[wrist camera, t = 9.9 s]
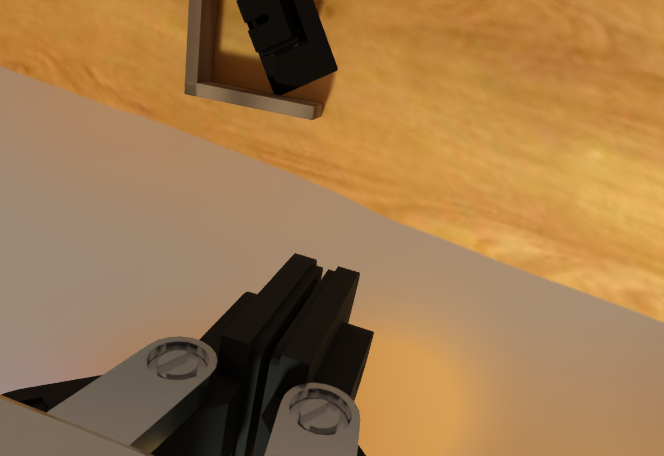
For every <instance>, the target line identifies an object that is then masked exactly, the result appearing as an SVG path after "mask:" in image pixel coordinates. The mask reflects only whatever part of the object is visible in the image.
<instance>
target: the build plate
mask: <svg viewBox="0 0 664 456" xmlns="http://www.w3.org/2000/svg"><path fill="white" fill-rule="evenodd" d="M236 2H237V4H238V7H239V10H240V12H241V15H242V17H243V20H244V22H245V23H247V24H248V27H249V31H248V33H249V35H250V38H251V40H252V43H253V46H254V48H255V51H256V52H258V53H259V56H260V59H261V61H262V64H263V67H264V69H265V72H266V74H267V77H268V80H269V82H270V85H271V88H272V90H273V93H274V94H277V95H283V94H285V93H287V92H290V91H292V90H294V89H297V88H299V87H301V86H303V85H306V84H308V83H310V82H312V81H315V80H317V79H319V78H322V77H324V76H326V75H328V74H331V73H333V72H335V71H337V69H338V68H337V65H336V62H335V59H334V57H333V54H332V51H331V48H330V45H329V43H328V40H327V37H326V34H325V32H324V29H323V26H322V23H321V21H320V18H319V15H318V12H317V10H316V7H315V4H314V1H313V0H237V1H236Z"/></svg>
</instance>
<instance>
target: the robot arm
mask: <svg viewBox="0 0 664 456" xmlns="http://www.w3.org/2000/svg"><path fill="white" fill-rule="evenodd" d="M316 265H317V261H316V259H312V258H309V257H306V256H303V255H299V254H296V253H295V254H294V255H293V256H292V257H291V258H290V259H289V260H288V261H287V262H286V263H285V265H284V266H283V267H282V268H281V269H280V270H279V271H278V272H277V273H276V275H275V276H274V277H273V278H272V279H271V280H270V281H269V282H268V283H267V285H266V286H265V287H264V288H263V289H262V290H261V291H260V292H259V293H258V294H254V293H251V292H246V293H244V294H243V295H242V296H241V297H240V298H239V299H238V300H237V301H236V303H234V304H233V305H232V306H231V308H230V309H229V310H228V311H227V312H226V313H225V314H224V315H223V316H222V317H221V318H220V319H219V320H218V321H217V322H216V323H215V324H214V325H213V326H212V327H211V328H210V329H209V330H208V332H206V333H205V334H204V336H203V337H202V338H201V339H200V340H197V339H193V338H188V337H168V338H164V339H160V340H157V341H155V342H153V343H151V344H149V345H147V346H146V347H144V348H143V349H141V350H140V351H138V352H137V353H135V354H134V355H132V356H131V357H129V358H128V359H126V360H125V361H123V362H122V363H120V364H119V365H117V366H116V367H114V368H113V369H111V370H110V371H108V372H107V373H105V374H104V375H100V376H94V377H88V378H82V379H76V380H71V381H65V382H59V383H53V384H47V385H41V386H36V387H29V388H24V389H19V390H15V391H11V392H7V393H4V394H2V395H0V456H366V455H365V454H364V452H363V451H362V449H361V448H360V447H359V445H358V439H359V428H360V414H359V410H358V408H357V406H356V404H355V402H354V400H355V397H356V394H357V391H358V387H359V385H360V381H361V378H362V374H363V371H364V368H365V365H366V361H367V357H368V354H369V350H370V346H371V342H372V339H373V334H374V332H372V331H370V330H366V329H363V328H360V327H357V326H354V325H351V324H348V322H349V318H350V314H351V310H352V306H353V302H354V297H355V293H356V289H357V285H358V281H359V276H360V273H359V272H356V271H352V270H349V269H346V268H342V267H339V266H338V268H337V269H336V271H332V270H328V271H327V272H326V274H325V275H324V277H323V278H322V279H321V277H322V272H323V268H322V267H319V266H316Z"/></svg>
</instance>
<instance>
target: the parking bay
mask: <svg viewBox="0 0 664 456" xmlns="http://www.w3.org/2000/svg"><path fill="white" fill-rule="evenodd" d="M217 5H218V0H189V15H188V35H187V55H186V75H185V94H187V95H192V96H197V97H202V98H207V99H212V100H217V101H221V102H226V103H231V104H236V105H241V106H246V107H251V108H255V109H260V110H265V111H270V112H275V113H280V114H285V115H289V116H294V117H299V118H304V119H309V120H314V119H316V118H319V117H321V113H322V107H323V104H322V103H317V102H312V101H307V100H302V99H297V98H292V97H287V96H282V95H277V94H272V93H267V92H262V91H257V90H252V89H247V88H242V87H236V86H231V85H226V84H221V83H216V82H212V78H213V63H214V49H215V34H216V20H217Z"/></svg>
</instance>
